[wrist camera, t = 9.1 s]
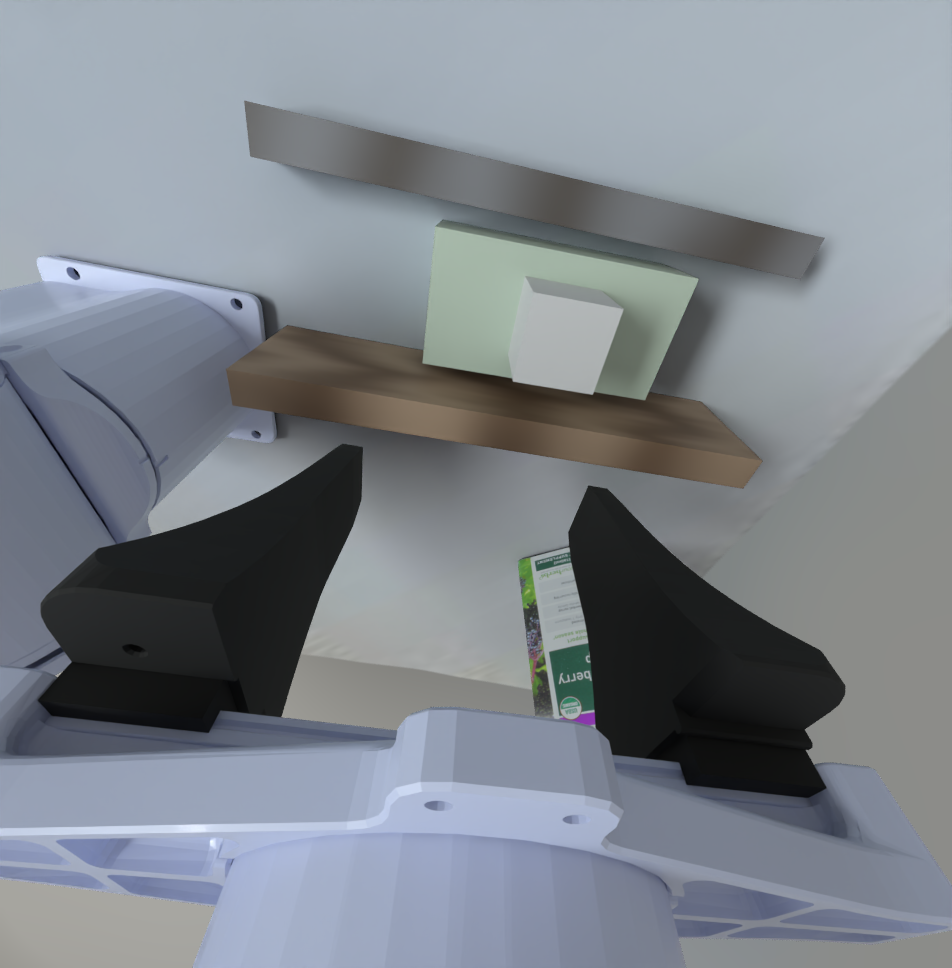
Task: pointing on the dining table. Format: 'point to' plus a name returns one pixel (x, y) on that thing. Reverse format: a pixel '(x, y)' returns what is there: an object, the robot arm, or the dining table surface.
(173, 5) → the dining table surface
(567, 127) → the dining table surface
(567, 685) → the syrup box
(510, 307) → the mint block with knob
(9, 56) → the dining table surface
